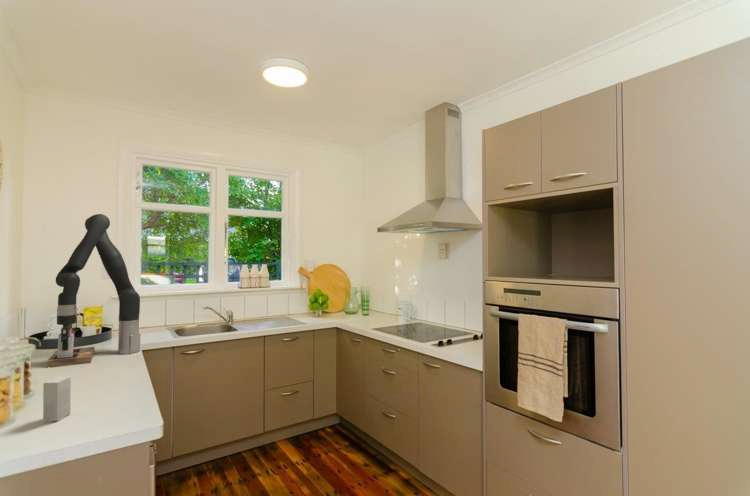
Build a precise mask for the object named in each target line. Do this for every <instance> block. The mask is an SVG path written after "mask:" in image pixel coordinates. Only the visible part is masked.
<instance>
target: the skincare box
mask: <svg viewBox="0 0 750 496" xmlns="http://www.w3.org/2000/svg"><path fill="white" fill-rule="evenodd" d="M71 378H72V377H71V376H59V377H57V376H56V377H55V378H51V379H50V380H47V381H45V382H43V393H42V397H43V399H42V401H43V403H42V405H43V406H42V407H43V408H42V409H43V410H42V411H43V412H42V413H43V414H42V419H43V420H42V423H51V422H50V421H57V422H59V421H61V420H63V419H64V418H66V417H68V416H69V415H71V395H72V394H71V389H72V388H71V384H72V383H71V382H72V379H71ZM67 415H68V416H67ZM60 419H61V420H60Z"/></svg>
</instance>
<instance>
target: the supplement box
mask: <svg viewBox="0 0 750 496" xmlns="http://www.w3.org/2000/svg"><path fill="white" fill-rule="evenodd" d="M68 335H69V334H68ZM57 338H58V339H57V350H58V353H57V359H64V358H72V356H73V349H75V347H74V346H75V344H74V343H75V332H72V333H70V337H69V342H68V350H66V351H62V342H61V332H60V333H59V334H58V337H57ZM64 339H67V337H66V338H64Z"/></svg>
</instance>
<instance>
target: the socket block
mask: <svg viewBox="0 0 750 496" xmlns="http://www.w3.org/2000/svg"><path fill="white" fill-rule="evenodd" d="M57 353H58V349H57V350H55V352H54V353H53V354H52V355H51V356H50V358H49V359H48V360H47V368H48V367H50V368H57V367H65V366H66V367H67V366H75V365H84V364H91V363H92V360H93V358H94V357H93V356H94V354H95V346H89V347H80V348H73V356H72V358H64V359H57ZM48 369H49V368H48Z"/></svg>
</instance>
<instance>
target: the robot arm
mask: <svg viewBox="0 0 750 496" xmlns="http://www.w3.org/2000/svg"><path fill="white" fill-rule="evenodd" d="M110 225H111V221H110V218H109V217H108V216H107V215H105V214H103V213H97V214H96V213H95V214H93V215H91V216H89V217H88V218H86V219H85V222H84V227H85V229H86V232H85V235H84V236H83V238H82V239H81V241H80V242H79V243H78V244H77V246H76V247H75V248H74V250H73V251H72V253H71V255H70V257H69V259H68V261H67V263H65V265H63V267H62V268H61V269H60V270H59V272H58V273H57V275H56V276H55V284H56V285H57V286H58V287H61V288H62V292H60V293H59V294H58V296H57V309H56V325H57V326H62V327H61V328H60V333H61V342H62V351H66V350H68V342H69V337H70V333H73V332H72V331H73V326H72V325H75V324H76V323H77V321H78V320H77V319H78V318H77V317H78V307H77V294H78V292H79V288H80V285H81V278H80V276H79V275H78V272H79V271H82V270H83V269H84V268H85V266H86V264H87V262H88V260H89V259H90V257H91V255H92V253H93V251H94V248H96V250H97V253H98V256H99V258H100V260H101V263H102V265H103V268H104V270H105V271H106V273H107V275H108V277H109V279H110V280H111V282H112V283H113V285H114V287H115V290H116V293H117V298H118V301H119V302H118V303H119V305H118V308H119V309H118V310H119V311H118V336H117V337H118V343H117V346H118V347H117V351H118V352H117V353H118V354H119V355H129V354H135V353H138V352H141V333H140V310H141V308H140V307H141V296H140V294H139V293H138V292H137V291H136V290H135V287H134V285H133V284H132V283H131V280H130V277H129V274H128V273H129V271H128V269H127V266H126V263H125V259H124V257H123V256H122V254H121V252H120V250H119V248H117V247H116V245H114V244H113V242H112V241H111V239H110V237H109V235H108V232H107V230H108V229H109V228H110ZM68 334H69V335H68ZM66 337H67V339H64V338H66Z"/></svg>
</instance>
